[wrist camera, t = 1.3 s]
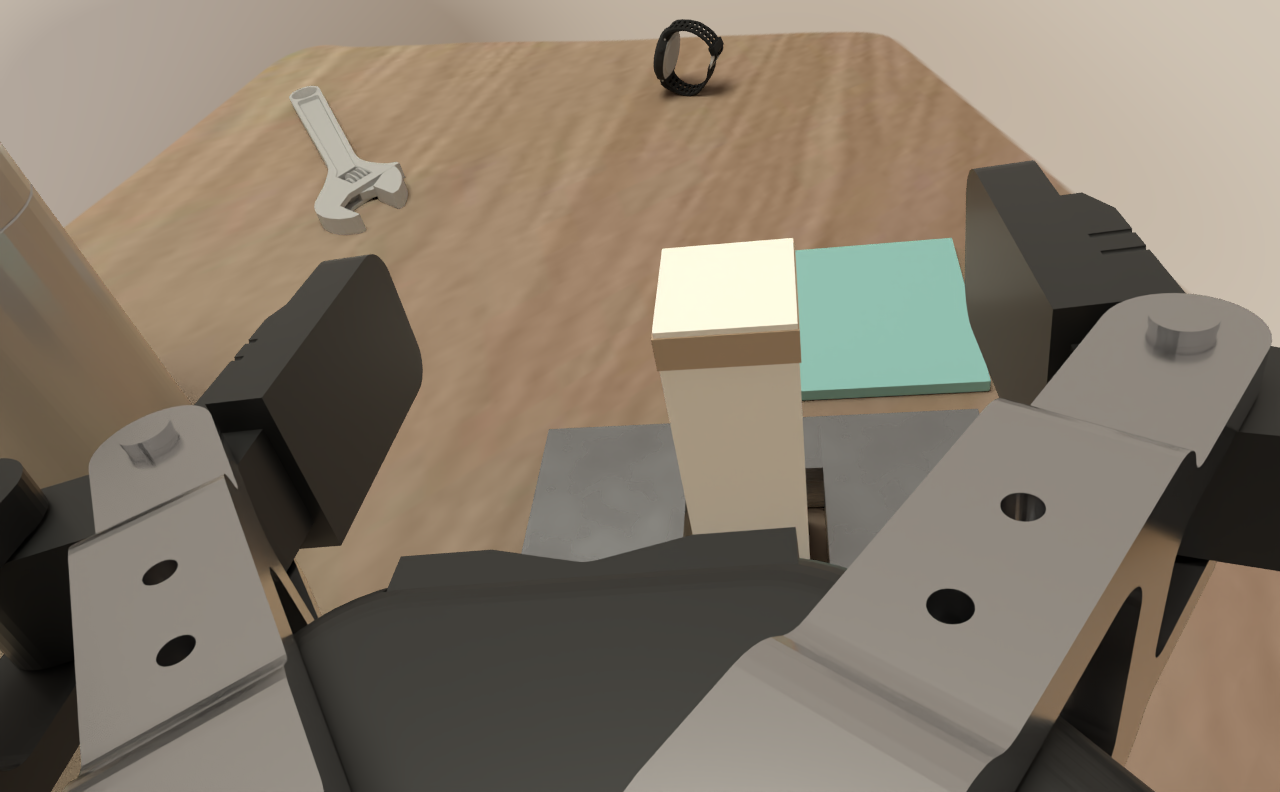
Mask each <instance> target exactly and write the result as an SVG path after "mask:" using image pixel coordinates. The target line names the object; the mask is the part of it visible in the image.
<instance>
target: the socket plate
mask: <svg viewBox="0 0 1280 792" xmlns="http://www.w3.org/2000/svg"><path fill="white" fill-rule="evenodd" d="M978 416H979V411H978V409H965V410H944V411H923V412H902V413H881V414H860V415H839V416H818V417H803V436H804V455H805V474H806V493H807V507H824V510H825V524H826V538H827V552H828V563H830V564H834V565H838V566H842V567H845V568H849V567H850V565H851V564H852V563H853V562H854V561H855V560H856V558H857V557H858V556H859V555H860V554H861V553H862V551H863V550H864V549H865V548H866V547H867V546H868V544H869V543H870V542H871V541H872V540H873V539H874V537H875V536H876V535H877V534H878V533H879V531H880V530H881V529H882V528H883V527H884V526H885V524H886V523H887V522H888V521H889V520H890V519H891V517H892V516H893V515H894V514H895V513H896V512H897V510H898V509H899V508H900V507H901V506H902V505H903V503H904V502H905V501H906V500H907V499H908V498H909V496H910V495H911V494H912V493H913V492H914V491H915V489H916V488H917V487H918V486H919V485H920V483H921V482H922V481H923V480H924V479H925V478H926V476H927V475H928V474H929V473H930V472H931V471H932V469H933V468H934V467H935V466H936V465H937V464H938V462H939V461H940V460H941V459H942V458H943V457H944V455H945V454H946V453H947V452H948V451H949V450H950V448H951V447H952V446H953V445H954V444H955V443H956V441H957V440H958V439H959V438H960V437H961V435H962V434H963V433H964V432H965V431H966V430H967V428H968V427H969V426H970V425H971V424H972V423H973V421H974V420H975V419H976V418H977V417H978ZM689 535H693V534H692V529H691V524H690V519H689V515H688V510H687V505H686V500H685V495H684V490H683V485H682V480H681V475H680V470H679V465H678V460H677V455H676V450H675V445H674V440H673V435H672V431H671V426H670V424H650V425H629V426H608V427H587V428H566V429H549V432H548V436H547V441H546V445H545V450H544V454H543V459H542V463H541V468H540V472H539V477H538V481H537V486H536V490H535V495H534V499H533V504H532V508H531V513H530V517H529V522H528V526H527V531H526V535H525V540H524V544H523V549H522V553H521V554H526V555H533V556H540V557H548V558H555V559H562V560H569V561H577V562H588V561H594V560H599V559H602V558H606V557H610V556H614V555H618V554H621V553H625V552H629V551H633V550H636V549H640V548H644V547H648V546H652V545H655V544H659V543H663V542H667V541H670V540H674V539H678V538H682V537H686V536H689Z"/></svg>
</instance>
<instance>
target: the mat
mask: <svg viewBox="0 0 1280 792" xmlns="http://www.w3.org/2000/svg"><path fill="white" fill-rule="evenodd" d="M795 254H796V271H797V289H798V307H799V325H800V344H801V363H800V379H801V398H802V400H819V399H839V398H859V397H878V396H898V395H918V394H937V393H957V392H976V391H989V390H990V383H991V380H990V376H989V373H988V369H987V366H986V363H985V361H984V358H983V356H982V353H981V351H980V348H979V346H978V343H977V341H976V339H975V336H974V334H973V331H972V328H971V325H970V322H969V317H968V312H967V305H966V296H965V284H964V281H963V277H962V273H961V270H960V266H959V262H958V259H957V255H956V251H955V248H954V244H953V240H952V238H945V239H932V240H920V241H908V242H895V243H883V244H870V245H858V246H846V247H833V248H821V249H808V250H796V251H795Z"/></svg>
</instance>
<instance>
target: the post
mask: <svg viewBox="0 0 1280 792" xmlns="http://www.w3.org/2000/svg"><path fill="white" fill-rule="evenodd" d="M651 342H652V347H653V352H654V357H655V362H656V367H657V371H660V376H661V381H662V386H663V391H664V396H665V401H666V406H667V411H668V416H669V421H670V426H671V431H672V435H673V440H674V445H675V450H676V455H677V460H678V465H679V470H680V475H681V480H682V485H683V490H684V495H685V500H686V505H687V510H688V515H689V519H690V524H691V529H692V534H693V535H695V534H708V533H721V532H735V531H748V530H761V529H775V528H788V527H796V534H797V541H798V549H799V557H800V558H804V559H810V550H809V531H808V512H807V493H806V474H805V455H804V436H803V417H802V398H801V379H800V363H801V344H800V325H799V307H798V289H797V271H796V254H795V242H794V243H793V238H788V239H776V240H763V241H751V242H739V243H727V244H715V245H703V246H691V247H679V248H667V249H662V255H661V263H660V271H659V279H658V287H657V295H656V304H655V312H654V320H653V328H652V336H651Z"/></svg>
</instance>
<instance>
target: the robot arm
mask: <svg viewBox="0 0 1280 792" xmlns="http://www.w3.org/2000/svg"><path fill="white" fill-rule="evenodd" d="M965 296H966V305H967V312H968V317H969V322H970V325H971V328H972V331H973V334H974V336H975V339H976V341H977V343H978V346H979V348H980V351H981V353H982V356H983V358H984V361H985V363H986V366H987V368H988V371H989V373H990V376H991V378H992V381H993V383H994V386H995V388H996V391H997V393H998V396H999V398H998V399H995V400H994V401H992V402H991V403H990V404H989V405H988V406H987V407H986V408H985V409H984V410H983V411H982V412H981V413H980V414H979V416H978V417H977V418H976V419H975V420H974V421H973V423H972V424H971V425H970V426H969V427H968V428H967V430H966V431H965V432H964V433H963V434H962V435H961V437H960V438H959V439H958V440H957V441H956V443H955V444H954V445H953V446H952V447H951V448H950V450H949V451H948V452H947V453H946V454H945V455H944V457H943V458H942V459H941V460H940V461H939V462H938V464H937V465H936V466H935V467H934V468H933V469H932V471H931V472H930V473H929V474H928V475H927V476H926V478H925V479H924V480H923V481H922V482H921V483H920V485H919V486H918V487H917V488H916V489H915V491H914V492H913V493H912V494H911V495H910V496H909V498H908V499H907V500H906V501H905V502H904V503H903V505H902V506H901V507H900V508H899V509H898V510H897V512H896V513H895V514H894V515H893V516H892V517H891V519H890V520H889V521H888V522H887V523H886V524H885V526H884V527H883V528H882V529H881V530H880V531H879V533H878V534H877V535H876V536H875V537H874V539H873V540H872V541H871V542H870V543H869V544H868V546H867V547H866V548H865V549H864V550H863V551H862V553H861V554H860V555H859V556H858V557H857V558H856V560H855V561H854V562H853V563H852V564H851V565H850V567H849V568H845V567H842V566H838V565H834V564H830V563H825V562H821V561H817V560H810V559H804V558H800V557H799V549H798V541H797V534H796V527H788V528H775V529H761V530H748V531H735V532H721V533H708V534H695V535H689V536H686V537H682V538H678V539H674V540H670V541H667V542H663V543H659V544H655V545H652V546H648V547H644V548H640V549H636V550H633V551H629V552H625V553H621V554H618V555H614V556H610V557H606V558H602V559H599V560H594V561H588V562H577V561H569V560H562V559H555V558H548V557H540V556H533V555H526V554H519V553H511V552H504V551H497V550H482V551H469V552H456V553H443V554H429V555H416V556H403V557H401V558H400V560H399V562H398V565H397V567H396V570H395V572H394V574H393V577H392V579H391V582H390V584H389V586H388V588H385V589H382V590H379V591H376V592H373V593H370V594H368V595H365V596H362V597H360V598H357V599H355V600H353V601H350V602H348V603H346V604H344V605H342V606H340V607H337V608H335V609H333V610H332V611H330V612H328V613H326V614H324V615H323V616H322V614H321V612H320V610H319V607H318V605H317V602H316V600H315V598H314V595H313V593H312V591H311V588H310V586H309V584H308V581H307V579H306V577H305V575H304V573H303V571H302V570H301V568H300V566H299V565H298V563H297V561H296V559H295V556H296V554H297V552H298V551H299V549H303V548H315V547H328V546H341V545H342V543H343V541H344V539H345V537H346V535H347V533H348V531H349V529H350V527H351V525H352V523H353V521H354V519H355V517H356V515H357V513H358V511H359V509H360V507H361V505H362V503H363V501H364V499H365V497H366V495H367V493H368V491H369V489H370V487H371V485H372V483H373V481H374V479H375V477H376V475H377V473H378V471H379V469H380V467H381V465H382V463H383V461H384V459H385V457H386V455H387V453H388V451H389V449H390V447H391V445H392V443H393V441H394V439H395V437H396V435H397V433H398V431H399V429H400V427H401V425H402V423H403V421H404V419H405V417H406V415H407V413H408V411H409V409H410V407H411V405H412V403H413V401H414V399H415V397H416V395H417V393H418V391H419V389H420V386H421V382H422V373H423V369H422V359H421V354H420V350H419V347H418V344H417V341H416V339H415V336H414V334H413V331H412V329H411V326H410V324H409V321H408V319H407V316H406V314H405V311H404V308H403V306H402V303H401V301H400V298H399V296H398V293H397V291H396V288H395V286H394V283H393V281H392V278H391V276H390V273H389V271H388V269H387V267H386V265H385V264H384V262H383V261H382V260H381V259H380V258H379V257H378V256H376V255H373V254H371V255H363V256H356V257H349V258H342V259H335V260H329V261H324V262H321V263H320V264H319V265H318V267H317V268H316V269H315V270H314V271H313V273H312V274H311V275H310V276H309V278H308V279H307V280H306V281H305V282H304V284H303V285H302V286H301V287H300V289H299V290H298V291H297V292H296V293H295V295H294V296H293V297H292V298H291V300H290V301H289V302H288V303H287V304H286V305H285V306H284V307H282V308H281V309H279V310H278V311H277V312H275V313H274V314H272V315H271V316H269V317H268V318H267V319H266V320H265V321H264V322H263V323H262V324H261V326H260V327H259V328H258V329H257V330H256V332H255V333H254V334H253V335H252V336H251V338H250V339H249V344H245V345H244V346H243V347H242V348H241V350H240V351H239V352H238V353H237V354H236V356H235V357H234V358H235V361H231V362H230V363H229V364H228V365H227V366H226V368H225V369H224V370H223V371H222V372H221V374H220V375H219V376H218V377H217V378H216V380H215V381H214V382H213V383H212V384H211V386H210V387H209V388H208V389H207V390H206V392H205V393H204V394H203V395H202V396H201V398H200V399H199V400H198V401H197V402H196V404H195V405H192V404H191V403H190V401H189V400H188V398H187V397H186V396H185V394H184V393H183V392H182V390H181V389H180V387H179V386H178V385H177V383H176V382H175V381H174V379H173V378H172V376H171V375H170V374H169V372H168V371H167V370H166V368H165V367H164V365H163V364H162V363H161V361H160V360H159V359H158V357H157V355H156V354H155V352H154V351H153V350H152V348H151V347H150V346H149V344H148V343H147V342H146V340H145V339H144V337H143V336H142V335H141V333H140V332H139V331H138V329H137V328H136V326H135V325H134V324H133V322H132V321H131V320H130V318H129V317H128V316H127V314H126V313H125V311H124V310H123V309H122V307H121V306H120V305H119V303H118V302H117V300H116V299H115V298H114V296H113V295H112V294H111V292H110V291H109V290H108V288H107V287H106V285H105V284H104V283H103V281H102V280H101V279H100V277H99V276H98V274H97V273H96V272H95V270H94V269H93V268H92V266H91V265H90V264H89V262H88V261H87V259H86V258H85V257H84V255H83V254H82V253H81V251H80V250H79V248H78V247H77V246H76V244H75V243H74V242H73V240H72V239H71V238H70V236H69V235H68V233H67V232H66V231H65V229H64V228H63V227H62V225H61V224H60V222H59V221H58V220H57V218H56V217H55V216H54V214H53V213H52V212H51V210H50V209H49V207H48V206H47V205H46V204H45V202H44V201H43V199H42V198H41V196H40V195H39V194H38V192H37V191H36V190H35V188H34V187H33V185H32V184H31V183H30V181H29V180H28V179H27V178H26V177H25V175H24V174H23V173H22V171H21V170H20V168H19V167H18V166H17V164H16V163H15V162H14V160H13V159H12V157H11V156H10V155H9V153H8V152H7V150H6V149H5V148H4V146H3V145H2V144H1V142H0V650H1V651H2V652H3V653H4V655H3V656H2V658H1V659H0V792H51V791H52V789H53V787H54V786H55V784H56V782H57V781H58V779H59V777H60V776H61V774H62V772H63V771H64V769H65V768H66V766H67V764H68V763H69V761H70V759H71V758H72V756H73V754H74V753H75V751H76V749H77V748H78V746H79V744H80V752H81V770H80V774H79V776H78V778H77V779H75V780H73V781H71V782H70V783H68V784H67V785H66V787H65V788H64V790H63V792H1155V791H1153V790H1152V789H1151V788H1150V787H1148V786H1147V785H1146V784H1144V783H1143V782H1142V781H1141V780H1139V779H1138V778H1137V777H1136V776H1134V775H1133V774H1132V773H1131V772H1129V771H1128V770H1127V769H1126V768H1124V766H1125V764H1126V761H1127V759H1128V757H1129V754H1130V752H1131V749H1132V747H1133V744H1134V741H1135V739H1136V736H1137V733H1138V730H1139V727H1140V724H1141V721H1142V718H1143V715H1144V712H1145V709H1146V706H1147V704H1148V701H1149V699H1150V696H1151V694H1152V692H1153V689H1154V687H1155V685H1156V683H1157V681H1158V679H1159V677H1160V675H1161V673H1162V671H1163V669H1164V667H1165V665H1166V663H1167V661H1168V659H1169V657H1170V655H1171V653H1172V651H1173V649H1174V647H1175V645H1176V643H1177V641H1178V639H1179V637H1180V636H1181V634H1182V632H1183V630H1184V628H1185V626H1186V624H1187V622H1188V620H1189V618H1190V616H1191V614H1192V612H1193V610H1194V608H1195V606H1196V604H1197V602H1198V600H1199V598H1200V596H1201V594H1202V592H1203V590H1204V588H1205V586H1206V584H1207V582H1208V580H1209V578H1210V576H1211V574H1212V572H1213V570H1214V568H1215V566H1216V563H1217V561H1218V562H1225V563H1231V564H1237V565H1244V566H1250V567H1256V568H1263V569H1269V570H1275V571H1280V348H1278V347H1273V346H1271V343H1272V336H1271V332H1270V330H1269V327H1268V326H1267V325H1266V324H1265V322H1264V321H1263V320H1262V319H1261V318H1259V317H1258V316H1257V315H1255V314H1254V313H1252V312H1251V311H1249V310H1247V309H1245V308H1243V307H1241V306H1239V305H1236V304H1234V303H1231V302H1228V301H1225V300H1222V299H1218V298H1213V297H1209V296H1202V295H1196V294H1186V293H1185V292H1184V291H1183V290H1182V288H1181V287H1180V286H1179V285H1178V284H1177V282H1176V281H1175V280H1174V279H1173V277H1172V276H1171V275H1170V274H1169V273H1168V272H1167V270H1166V269H1165V268H1164V267H1163V266H1162V264H1161V263H1160V262H1159V260H1157V258H1156V257H1155V256H1154V254H1153V253H1152V252H1151V251H1150V250H1146V245H1145V244H1144V242H1143V241H1142V240H1141V239H1140V237H1139V236H1138V235H1137V234H1136V233H1132V228H1131V227H1130V225H1129V224H1128V223H1127V222H1126V221H1125V219H1124V218H1123V217H1122V216H1121V214H1120V213H1119V212H1118V211H1117V210H1116V208H1114V207H1112V206H1110V205H1108V204H1106V203H1103V202H1101V201H1099V200H1097V199H1095V198H1093V197H1090V196H1088V195H1086V194H1084V193H1076V194H1068V195H1061V196H1060V195H1059V194H1058V192H1057V191H1056V189H1055V188H1054V187H1053V185H1052V184H1051V183H1050V181H1049V180H1048V178H1047V177H1046V176H1045V174H1044V173H1043V171H1042V170H1041V169H1040V167H1039V166H1038V165H1037V163H1036V162H1035V161H1033V160H1032V161H1025V162H1018V163H1012V164H1005V165H998V166H991V167H984V168H977V169H971V170H970V172H969V175H968V179H967V188H966V239H965Z"/></svg>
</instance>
